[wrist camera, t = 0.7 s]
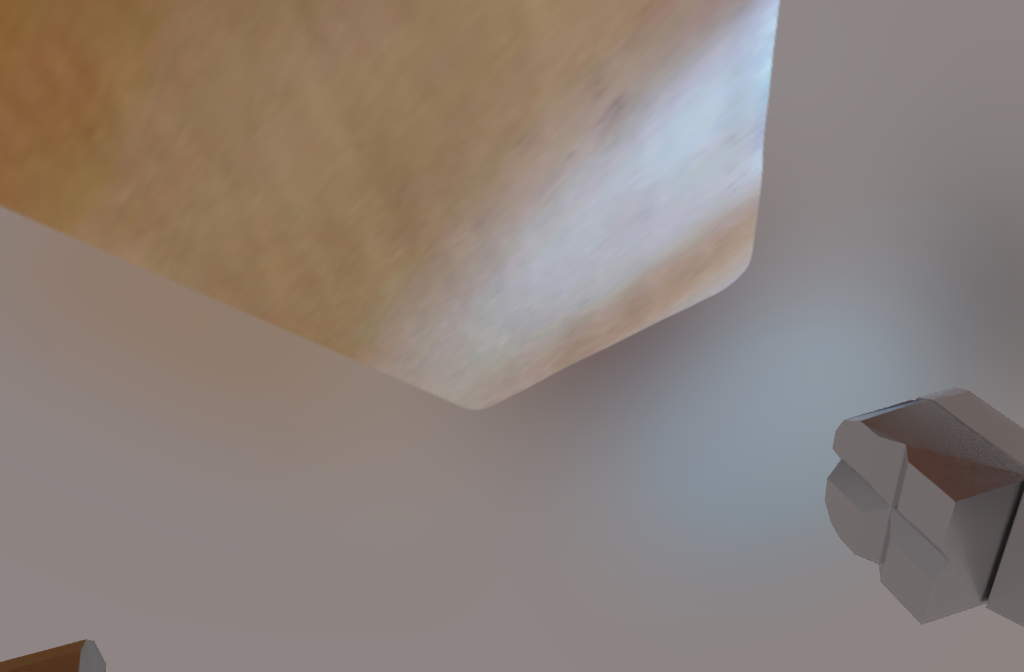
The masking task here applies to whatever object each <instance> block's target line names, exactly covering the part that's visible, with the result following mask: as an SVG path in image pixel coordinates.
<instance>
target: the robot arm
mask: <svg viewBox="0 0 1024 672" xmlns="http://www.w3.org/2000/svg"><path fill="white" fill-rule="evenodd" d="M833 450H834V451H835V452H836V453H837V455H838V456H839V457H840V458H841V461H840V462H839V463H838V465H837V466H836V468H835V469H834V470H833V471H832V473H831V474H830V475H829V477H828V478H827V487H826V495H825V502H826V506H827V510H828V514H829V517H830V521H831V523H832V525H833V527H834V529H835V530H836V532H837V533H838V535H839V537H840V539H841V540H842V541H843V542H844V543H845V544H846V545H847V546H848V547H849V549H850V550H851V551H852V552H853V553H854V554H855V555H858V556H860V557H863V558H865V559H868V560H870V561H873V562H875V563H878V564H879V569H880V580H881V583H882V584H883V585H884V586H885V587H886V588H887V589H888V590H889V591H890V592H891V593H892V594H893V595H894V596H895V597H896V598H897V599H898V600H899V601H900V603H901V604H902V605H903V606H904V607H905V608H906V609H907V610H908V611H909V612H910V613H911V614H912V615H913V616H914V617H915V618H916V619H917V620H918V621H919V622H920V623H921V624H925V623H928V622H931V621H934V620H937V619H940V618H943V617H946V616H949V615H952V614H955V613H958V612H961V611H965V610H968V609H971V608H973V607H977V606H980V605H983V604H986V603H987V605H986V608H988V609H990V610H992V611H993V612H995V613H997V614H999V615H1001V616H1003V617H1005V618H1007V619H1010V620H1011V621H1013V622H1015V623H1017V624H1019V625H1021V626H1023V627H1024V429H1023V428H1022V427H1020V426H1019V425H1017V424H1016V423H1014V422H1013V421H1012V420H1010V419H1009V418H1007V417H1006V416H1005V415H1003V414H1002V413H1000V412H999V411H997V410H996V409H995V408H993V407H992V406H990V405H989V404H987V403H986V402H985V401H983V400H982V399H980V398H979V397H977V396H976V395H975V394H973V393H972V392H970V391H968V390H964V389H961V388H957V387H952V388H949V389H945V390H942V391H939V392H935V393H932V394H929V395H925V396H922V397H919V398H917V399H915V400H909V401H906V402H903V403H899V404H896V405H892V406H890V407H886V408H883V409H879V410H876V411H873V412H870V413H866V414H863V415H859V416H856V417H853V418H849V419H846V420H844V421H843V422H842V423H841V425H840V426H839V427H838V429H837V430H836V433H835V438H834V444H833ZM0 672H106V663H105V661H104V659H103V657H102V655H101V653H100V651H99V649H98V648H97V645H96V644H95V642H94V641H91V640H82V641H78V642H74V643H71V644H67V645H63V646H59V647H56V648H52V649H48V650H44V651H41V652H37V653H33V654H29V655H26V656H22V657H18V658H14V659H10V660H7V661H3V662H0Z"/></svg>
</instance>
